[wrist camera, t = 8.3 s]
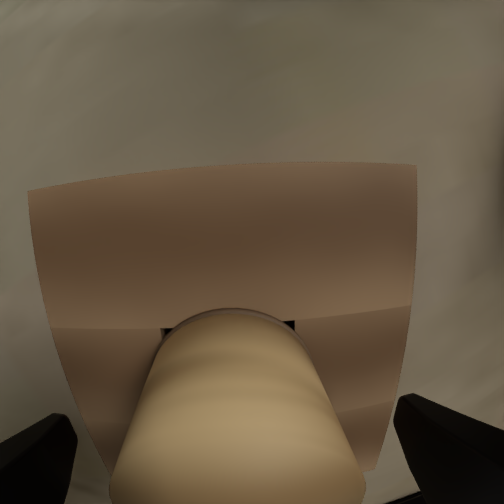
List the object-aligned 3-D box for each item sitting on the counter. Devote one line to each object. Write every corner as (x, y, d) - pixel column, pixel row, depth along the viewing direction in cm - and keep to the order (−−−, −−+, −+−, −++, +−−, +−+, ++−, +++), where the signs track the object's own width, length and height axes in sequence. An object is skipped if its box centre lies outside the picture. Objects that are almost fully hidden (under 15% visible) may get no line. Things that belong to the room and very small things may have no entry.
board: (355, 430, 14) (374, 468, 11) (129, 445, 13) (116, 485, 10) (375, 168, 11) (416, 165, 8) (69, 188, 11) (27, 191, 8)
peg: (295, 384, 13) (346, 541, 5) (178, 392, 13) (148, 552, 5) (295, 273, 12) (393, 411, 4) (159, 281, 12) (65, 427, 4)
